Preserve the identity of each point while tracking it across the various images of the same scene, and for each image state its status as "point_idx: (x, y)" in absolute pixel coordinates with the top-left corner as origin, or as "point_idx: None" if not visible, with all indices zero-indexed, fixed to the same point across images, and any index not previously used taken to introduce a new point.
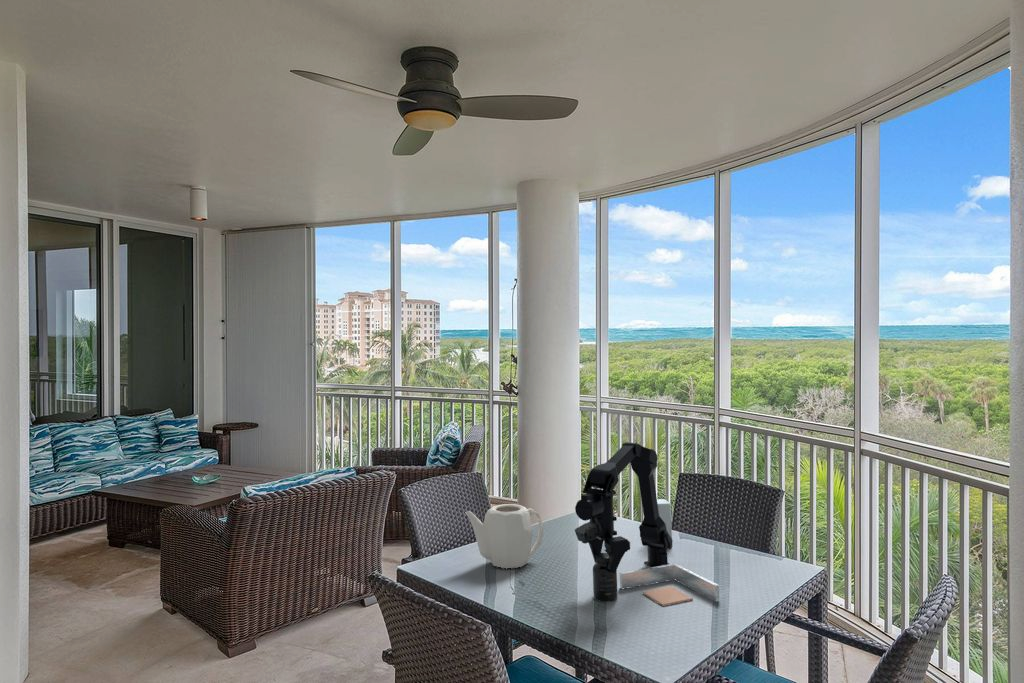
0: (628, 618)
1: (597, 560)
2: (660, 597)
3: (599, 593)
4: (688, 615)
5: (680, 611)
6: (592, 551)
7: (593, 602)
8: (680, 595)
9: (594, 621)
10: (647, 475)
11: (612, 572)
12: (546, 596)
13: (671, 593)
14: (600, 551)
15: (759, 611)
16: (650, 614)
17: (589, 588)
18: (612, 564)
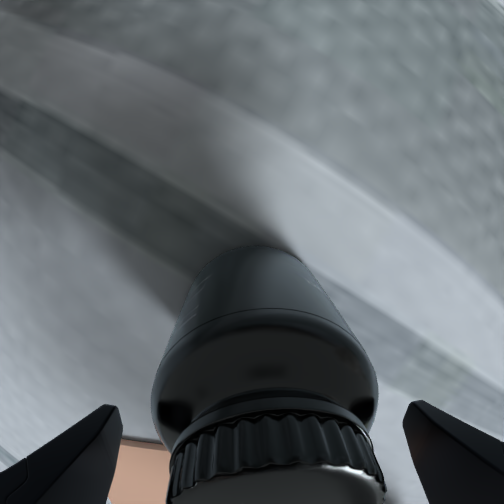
0: (11, 265)
1: (279, 424)
2: (138, 464)
3: (217, 263)
4: (19, 432)
5: (44, 438)
6: (483, 449)
7: (224, 211)
8: (138, 500)
9: (33, 108)
10: None
11: (102, 408)
12: (408, 42)
13: (160, 496)
14: (432, 500)
15: None
16: (29, 359)
17: (396, 292)
18: (41, 452)
